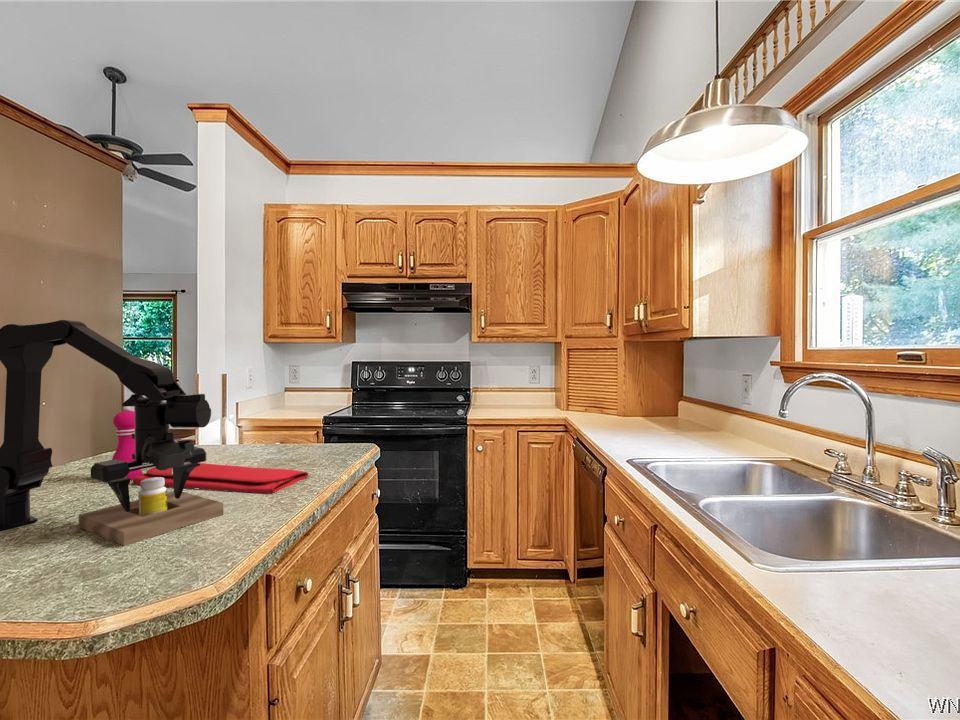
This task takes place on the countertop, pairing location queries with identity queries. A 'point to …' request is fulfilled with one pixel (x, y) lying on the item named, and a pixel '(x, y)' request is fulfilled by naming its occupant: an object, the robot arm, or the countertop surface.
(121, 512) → the socket board
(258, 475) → the red folded cloth
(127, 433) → the pepper mill
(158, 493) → the supplement bottle
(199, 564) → the countertop surface
